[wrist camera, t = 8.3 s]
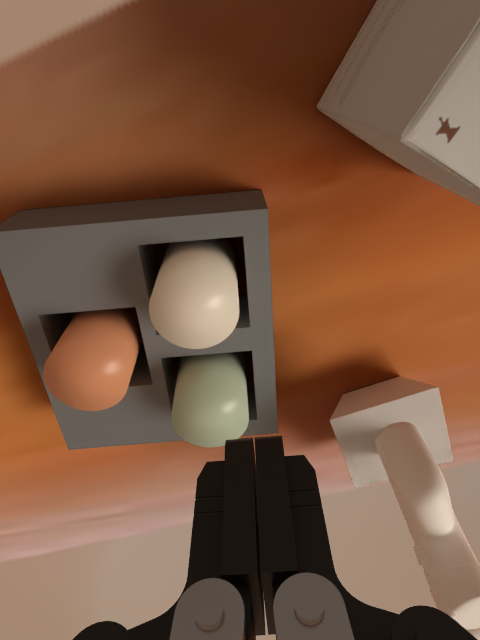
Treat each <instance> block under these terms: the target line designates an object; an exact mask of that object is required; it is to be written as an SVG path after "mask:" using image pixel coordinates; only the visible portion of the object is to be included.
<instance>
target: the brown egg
mask: <svg viewBox="0 0 480 640" xmlns="http://www.w3.org/2000/svg"><path fill="white" fill-rule="evenodd" d="M142 340H143V338H142V333H141V329H140V324H139V320H138V315H137V311H136V307H129V308H117V309H105V310H93V311H81V312H76V313H75V315H74V316H73V318H72V320H71V321H70V323H69V324H68V326H67V328H66V329H65V331H64V333H63V334H62V336H61V337H60V339H59V341H58V342H57V344H56V346H55V347H54V349H53V351H52V352H51V354H50V355H49V357H48V359H47V360H46V362H45V365H44V369H43V377H44V381H45V384H46V386H47V388H48V389H49V391H50V392H51V393H52V395H53V396H55V397H56V398H57V399H58V400H59V401H61V402H62V403H64V404H66V405H68V406H70V407H73V408H75V409H79V410H84V411H99V410H104V409H108V408H110V407H112V406H114V405H116V404H117V403H119V402H120V401H121V400H122V399H123V397H124V396H125V394H126V392H127V389H128V386H129V382H130V379H131V376H132V373H133V369H134V366H135V363H136V359H137V356H138V353H139V349H140V346H141V343H142Z"/></svg>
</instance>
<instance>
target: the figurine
mask: <svg viewBox="0 0 480 640" xmlns="http://www.w3.org/2000/svg"><path fill="white" fill-rule="evenodd" d="M330 423H331V426H332V428H333V431H334V433H335V436H336V439H337V441H338V444H339V446H340V449H341V452H342V454H343V457H344V459H345V462H346V465H347V467H348V470H349V472H350V475H351V477H352V480H353V483H354V485H355V488H358V487H361V486H365V485H368V484H372V483H375V482H379V481H383V480H386V479H389V481H390V483H391V485H392V488H393V490H394V493H395V495H396V498H397V500H398V503H399V505H400V507H401V510H402V513H403V515H404V517H405V520H406V522H407V525H408V528H409V530H410V533H411V535H412V538H413V540H414V543H415V545H416V546H415V547H414V550H415V553H416V556H417V559H418V562H419V564H420V565H422V566H423V568H424V573H425V576H426V579H427V581H428V584H429V586H430V591H431V594H432V596H433V599H434V601H435V603H436V606H437V608H438V610H441V611H442V612H444V613H446V614H448V615H449V616H450V617H452V618H453V619H454V620H455V621H457V622H458V623H459V624H460V625H461V626H462V627H464V628H465V629H466V630H467V631H468V632H469V633H471V634H472V635H473V636H474V637H475V638H476V639H478V640H480V564H479V562H478V560H477V559H476V557H475V555H474V553H473V551H472V549H471V547H470V545H469V543H468V541H467V539H466V538H465V535H464V533H463V531H462V529H461V527H460V525H459V523H458V521H457V519H456V516H455V514H454V512H453V510H452V505H451V501H450V496H449V492H448V487H447V485H446V481H445V479H444V476H443V474H442V472H441V470H440V468H439V466H438V465H440V464H443V463H447V462H450V461H453V456H452V451H451V446H450V441H449V436H448V432H447V427H446V422H445V417H444V412H443V407H442V402H441V398H440V393H439V388H438V387H437V386H433V385H430V384H426V383H423V382H419V381H416V380H412V379H409V378H405V377H402V376H399V377H396V378H393V379H390V380H386V381H383V382H380V383H377V384H374V385H371V386H367V387H364V388H361V389H358V390H355V391H352V392H348V393H345V394H343V395H342V397H341V399H340V401H339V403H338V405H337V407H336V409H335V411H334V413H333V415H332V417H331V418H330Z"/></svg>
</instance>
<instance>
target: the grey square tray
mask: <svg viewBox="0 0 480 640" xmlns="http://www.w3.org/2000/svg"><path fill="white" fill-rule="evenodd" d="M241 236H242V237H243V250H244V263H245V276H246V289H247V296H240V297H239V319H238V322H237V324H236V327H235V328H234V330H233V332H232V333H231V334H230V335H229V336H228V337H227V338H226V339H225V340H223V341H222V342H220V343H219V344H217V345H214V346H212V347H208V348H203V349H188V348H183V347H180V346H177V345H174V344H172V343H171V342H169V341H167V340H166V339H165V338H163V337H162V336H161V335H160V334H159V333H158V332H157V330H156V329H155V327H154V326H153V324H152V321H151V318H150V315H149V302H150V298H151V295H152V292H153V288H154V285H155V282H156V279H157V276H158V273H159V271H158V266H157V260H156V255H155V249H154V244H158V243H170V242H182V241H194V240H205V239H217V238H229V237H241ZM0 269H1V272H2V275H3V277H4V280H5V283H6V285H7V288H8V291H9V293H10V296H11V299H12V301H13V304H14V306H15V309H16V312H17V314H18V317H19V320H20V322H21V325H22V328H23V330H24V333H25V336H26V338H27V341H28V344H29V346H30V349H31V352H32V354H33V357H34V359H35V362H36V365H37V367H38V370H39V373H40V375H41V378H42V381H43V383H44V386H45V389H46V391H47V394H48V397H49V399H50V402H51V404H52V407H53V410H54V412H55V415H56V418H57V420H58V423H59V426H60V428H61V431H62V434H63V436H64V439H65V442H66V444H67V447H68V450H71V449H83V448H96V447H108V446H121V445H133V444H145V443H158V442H170V441H183V440H184V439H182V438H181V437H180V436H179V435H178V434H177V433H176V431H175V430H174V428H173V425H172V421H171V414H172V408H173V401H174V395H175V388H176V382H177V369H176V364H175V358H174V357H180V356H193V355H205V354H217V353H229V352H241V351H251V353H252V366H253V379H254V382H246V384H247V397H248V411H249V422H248V426H247V428H246V430H245V432H244V433H243V434H242V435H241V436H245V435H258V434H270V433H278V422H277V400H276V379H275V357H274V335H273V313H272V291H271V270H270V248H269V226H268V208H267V205H266V202H265V199H264V196H263V192H262V190H252V191H240V192H229V193H217V194H205V195H194V196H182V197H171V198H159V199H147V200H136V201H124V202H112V203H101V204H89V205H77V206H66V207H54V208H43V209H31V210H19V211H18V212H16V213H15V214H14V215H12V216H11V217H9V218H8V219H6V220H5V221H3V222H2V223H0ZM129 307H136V311H137V315H138V320H139V324H140V329H141V333H142V338H143V343H144V347H145V350H139V353H138V356H137V359H136V363H135V366H134V369H133V373H132V376H131V379H130V382H129V386H128V389H127V392H126V394H125V396H124V397H123V399H122V400H121V401H120V402H119V403H117V404H116V405H114V406H112V407H110V408H108V409H104V410H99V411H84V410H79V409H75V408H73V407H70V406H68V405H66V404H64V403H62V402H61V401H59V400H58V399H57V398H56V397H55V396H53V395H52V393H51V392H50V391H49V389H48V388H47V386H46V384H45V381H44V377H43V369H44V365H45V362H46V360H47V359H48V357H49V355H50V354H51V352H52V351H53V349H54V347H55V346H56V344H57V342H58V341H59V339H60V337H61V336H62V334H63V333H64V331H65V329H66V328H67V326H68V324H69V323H70V321H71V320H72V317H71V313H70V312H81V311H93V310H105V309H117V308H129Z"/></svg>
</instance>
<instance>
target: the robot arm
mask: <svg viewBox="0 0 480 640" xmlns="http://www.w3.org/2000/svg"><path fill="white" fill-rule="evenodd" d="M255 453H256V463H255ZM255 453H254V444H253V438H245V439H231V440H226V441H225V461H213V462H207V463H206V464H205V466H204V468H203V470H202V471H201V473H200V475H199V477H198V478H197V487H196V501H195V508H194V518H193V528H192V538H191V548H190V558H189V568H188V577H187V582H186V585H185V588H184V590H183V592H182V594H181V596H180V597H179V599H178V600H177V602H176V603H175V604H174V605H173V606H172V607H171V608H170V609H169V610H168V611H166V612H165V613H164V614H162V615H161V616H159V617H157V618H155V619H153V620H150V621H148V622H145V623H143V624H141V625H139V626H136V627H134V628H132V629H129V630H126V628H125V627H123V626H122V625H120V624H118V623H116V622H112V621H103V622H98V623H95V624H93V625H91V626H89V627H87V628H85V629H84V630H83V631H81V632H80V633H79V634H78V635H77V636H76V637H75V638H74V639H73V640H256V635H265V619H264V618H265V617H264V601H265V610H266V618H267V627H268V634H276V640H478V639H476V638H475V637H474V636H473V635H472V634H471V633H469V632H468V631H467V630H466V629H465V628H464V627H462V626H461V625H460V624H459V623H458V622H457V621H455V620H454V619H453V618H452V617H450V616H449V615H448V614H446V613H444V612H442V611H441V610H438V609H436V608H433V607H429V606H413V607H410V608H408V609H406V610H404V611H403V612H401V613H400V614H396V613H392V612H389V611H386V610H382V609H379V608H376V607H372V606H369V605H367V604H364V603H363V602H361V601H359V600H357V599H356V598H355V597H353V596H352V595H351V594H350V593H349V592H348V591H346V589H345V588H344V587H343V586H342V584H341V583H340V581H339V579H338V577H337V575H336V573H335V569H334V565H333V560H332V555H331V550H330V545H329V540H328V535H327V529H326V525H325V519H324V514H323V509H322V504H321V498H320V493H319V488H318V483H317V478H316V473H315V470H314V468H313V467H312V465H311V464H310V463H309V461H308V460H307V459H306V457H305V456H304V455H296V456H284V449H283V441H282V436H271V437H257V438H255ZM263 593H264V596H263Z"/></svg>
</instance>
